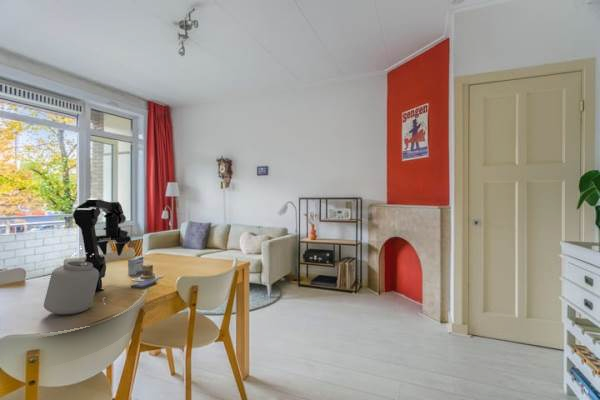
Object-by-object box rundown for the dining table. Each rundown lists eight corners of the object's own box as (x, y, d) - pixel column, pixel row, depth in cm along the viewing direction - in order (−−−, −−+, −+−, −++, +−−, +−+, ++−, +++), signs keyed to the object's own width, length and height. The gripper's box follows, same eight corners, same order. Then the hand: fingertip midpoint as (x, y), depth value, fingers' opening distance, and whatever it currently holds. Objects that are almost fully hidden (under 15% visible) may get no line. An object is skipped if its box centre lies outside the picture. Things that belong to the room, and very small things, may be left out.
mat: (148, 282, 148) (148, 281, 148) (130, 280, 150) (130, 279, 150) (163, 276, 158) (163, 275, 158) (146, 275, 161) (146, 274, 161)
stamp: (148, 279, 151) (148, 266, 151) (140, 278, 152) (140, 266, 152) (155, 276, 156) (155, 264, 156) (147, 276, 157) (147, 264, 157)
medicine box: (135, 275, 161) (135, 259, 161) (127, 274, 162) (127, 259, 161) (143, 271, 169) (143, 256, 169) (136, 271, 169) (136, 256, 169)
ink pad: (143, 289, 137) (143, 286, 137) (130, 287, 139) (130, 285, 139) (156, 283, 146) (156, 281, 146) (144, 282, 148) (144, 279, 148)
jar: (109, 301, 121) (109, 242, 121) (98, 315, 107) (97, 248, 107) (55, 306, 115) (54, 244, 115) (35, 321, 101) (34, 250, 101)
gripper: (138, 224, 158) (138, 253, 158) (110, 223, 162) (110, 251, 162) (121, 226, 147) (121, 257, 147) (92, 225, 151) (92, 255, 151)
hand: (112, 255), depth 152 cm, fingers open, 9 cm apart
